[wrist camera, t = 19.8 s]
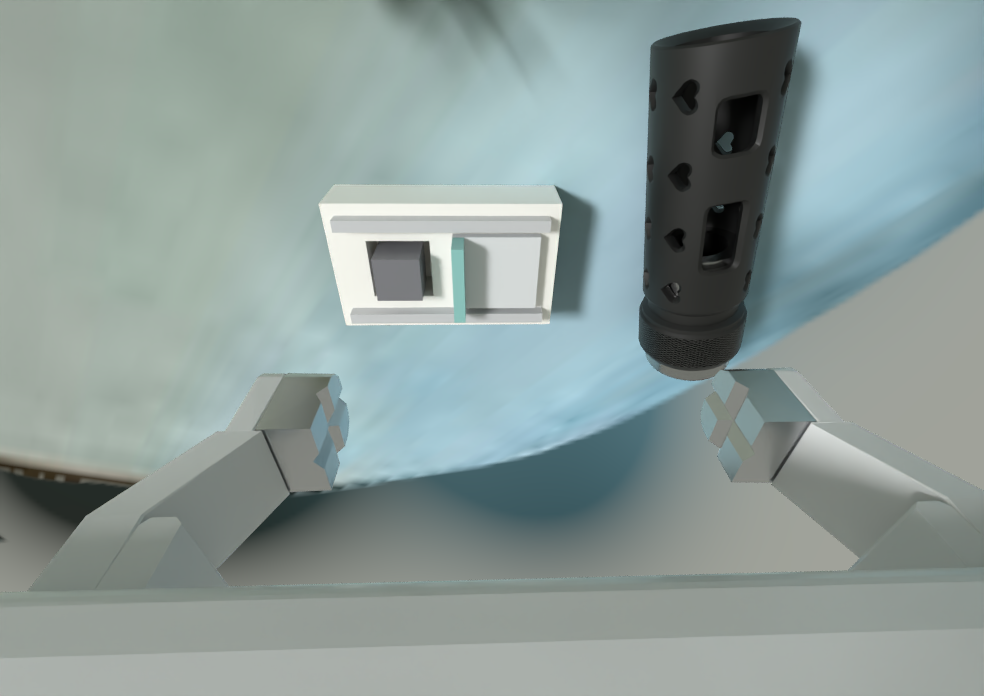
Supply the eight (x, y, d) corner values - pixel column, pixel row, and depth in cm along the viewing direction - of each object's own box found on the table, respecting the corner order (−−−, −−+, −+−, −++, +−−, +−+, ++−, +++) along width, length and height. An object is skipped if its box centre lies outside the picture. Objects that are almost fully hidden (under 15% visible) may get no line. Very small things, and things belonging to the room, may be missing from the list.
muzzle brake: (753, 15, 34) (843, 16, 25) (709, 317, 50) (755, 377, 42) (626, 42, 34) (674, 52, 26) (625, 331, 51) (654, 392, 43)
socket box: (334, 184, 40) (314, 208, 35) (554, 185, 41) (565, 209, 36) (357, 298, 47) (343, 332, 42) (543, 298, 48) (551, 330, 43)
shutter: (452, 233, 38) (450, 249, 35) (540, 233, 38) (544, 249, 35) (455, 303, 42) (454, 322, 39) (534, 303, 42) (538, 322, 40)
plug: (382, 231, 42) (370, 259, 37) (425, 231, 42) (418, 259, 37) (388, 269, 44) (377, 300, 39) (428, 269, 44) (422, 300, 40)
